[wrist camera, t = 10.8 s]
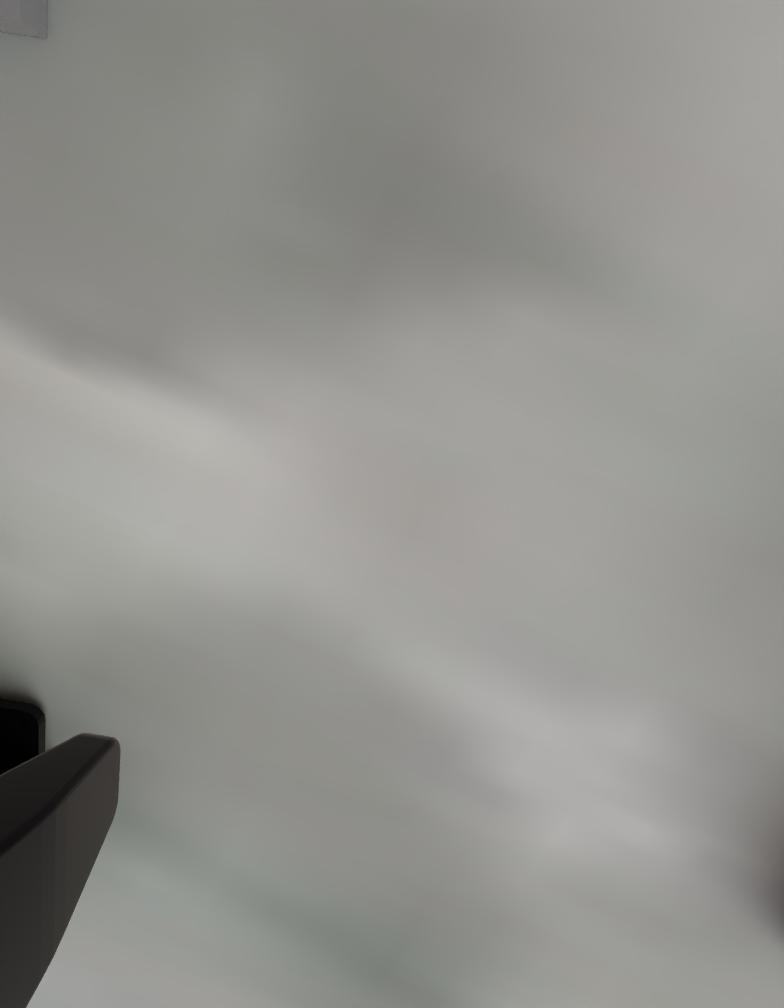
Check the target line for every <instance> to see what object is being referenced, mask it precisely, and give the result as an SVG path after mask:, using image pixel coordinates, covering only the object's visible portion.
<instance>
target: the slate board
mask: <svg viewBox="0 0 784 1008" xmlns="http://www.w3.org/2000/svg"><path fill="white" fill-rule="evenodd" d="M0 31H1V32H8V33H14V34H20V35H26V36H33V37H39V38H45V39H47V0H0Z"/></svg>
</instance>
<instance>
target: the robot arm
mask: <svg viewBox="0 0 784 1008" xmlns="http://www.w3.org/2000/svg"><path fill="white" fill-rule="evenodd" d="M22 717H24V718H26V719H28V720H29V721H30V723H31V724H28V723H26V722H25V721H24V720H23V718H22ZM119 771H120V745H119V742H118V741H117V739H116V738H114V737H109V736H103V735H96V734H90V733H82V734H79V735H76V736H74V737H72V738H70V739H69V740H67V741H65V742H63V743H61V744H59V745H57V746H55V747H53V748H51V749H49V750H47V751H45V716H44V713H43V712H42V710H41V709H40V708H38V707H37V706H35V705H32V704H29V703H23V702H17V701H10V700H4V699H0V1008H26V1007H27V1005H28V1003H29V1001H30V999H31V998H32V996H33V994H34V992H35V990H36V989H37V987H38V985H39V983H40V981H41V980H42V978H43V976H44V974H45V972H46V970H47V968H48V966H49V964H50V962H51V961H52V959H53V957H54V955H55V952H56V950H57V948H58V946H59V944H60V941H61V939H62V937H63V935H64V932H65V930H66V928H67V926H68V923H69V921H70V919H71V916H72V914H73V912H74V909H75V907H76V905H77V902H78V900H79V898H80V895H81V893H82V891H83V888H84V886H85V884H86V881H87V879H88V877H89V875H90V872H91V870H92V868H93V865H94V863H95V861H96V858H97V856H98V854H99V851H100V849H101V847H102V844H103V842H104V840H105V837H106V835H107V833H108V830H109V828H110V826H111V824H112V821H113V818H114V815H115V812H116V808H117V803H118V792H119Z"/></svg>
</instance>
